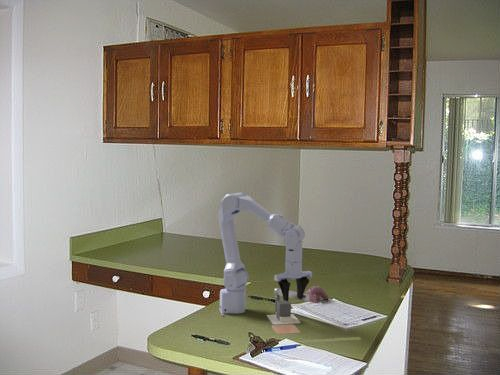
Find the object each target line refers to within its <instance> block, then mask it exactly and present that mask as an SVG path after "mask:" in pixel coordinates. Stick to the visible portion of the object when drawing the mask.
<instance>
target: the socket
mask: <svg viewBox="0 0 500 375" xmlns="http://www.w3.org/2000/svg"><path fill="white" fill-rule="evenodd" d="M274 298H275V300H274V301H275V302H274V303H275V306H274V307H275V308H274V312H275V314H266V316H267V318H268V320H269V321H270V323H272V324H271V325H272V326H273V325H292V324H294V325H295V324H301V323H302V322H301V321H300V320H299V319H298V318H297V317H296V315H295V314H294V313H291V316H287V317H280V321H279V320H278V319H277V301H281V295H275V297H274Z"/></svg>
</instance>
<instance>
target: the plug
mask: <svg viewBox="0 0 500 375" xmlns="http://www.w3.org/2000/svg"><path fill="white" fill-rule="evenodd" d="M291 311H292V304H291V302H290V301H289V300H288V301H285V300H280V301H277V319H278V320H279V321H280V317H287V316H291V314H292V312H291Z"/></svg>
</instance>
